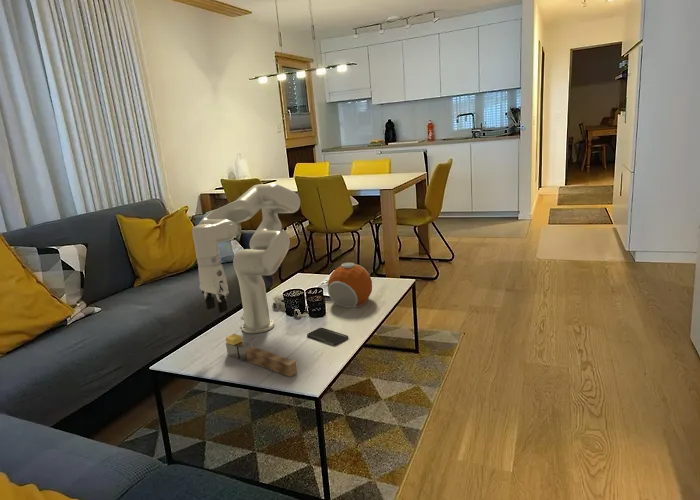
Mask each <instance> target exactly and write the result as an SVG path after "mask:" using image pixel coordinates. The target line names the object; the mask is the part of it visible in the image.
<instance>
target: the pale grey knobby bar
mask: <svg viewBox="0 0 700 500" xmlns="http://www.w3.org/2000/svg"><path fill="white" fill-rule="evenodd" d="M283 295H284V294H279V295H276V296H273V298H272V299H273V303H272V304H271V306H272V308H273V309H274V310H276V311H281V312H285V304H284V299H283ZM296 311H297V313H298V315H297V314H296ZM304 311H305V312H304V313H303V314H301V312H300V310H299V309H295V310H294V315H293V316H294V317H296V318H302V317H308V316H309V314H308V311H307V306H306V307H305V310H304Z"/></svg>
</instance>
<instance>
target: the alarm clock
mask: <svg viewBox="0 0 700 500" xmlns="http://www.w3.org/2000/svg"><path fill="white" fill-rule="evenodd" d="M371 277H372V276H371V275H370V273H369V272H368V271H367V269H366V268H364V267H363V266H362V265H360V264H355V263H354V262H344V263H341V265H339V266H338V267H337V268H335V269H334V270H333V271H332V273H330V276H329V278H328V280H327V281H328V282H327V292H328V296H329V298H330V299H331V301H332V302H333V303H334V304H335V305H337V306H341V307H345V308H346V307H347V308H357V307H361V306H363V305H364V304H365V303H366V302H367V301H368V300H369V298H370V296H371V294H372V292H373V291H372V290H373V281H372V278H371Z"/></svg>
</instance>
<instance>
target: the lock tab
mask: <svg viewBox="0 0 700 500" xmlns="http://www.w3.org/2000/svg"><path fill="white" fill-rule="evenodd" d="M240 342H243V337H242V335H241V334H236V333H232V334H230V335H228V336H225V344H226V343H228V344H231V345H236V344H238V343H240Z"/></svg>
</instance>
